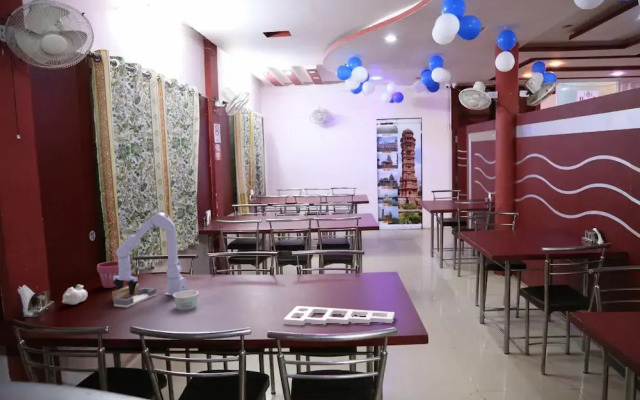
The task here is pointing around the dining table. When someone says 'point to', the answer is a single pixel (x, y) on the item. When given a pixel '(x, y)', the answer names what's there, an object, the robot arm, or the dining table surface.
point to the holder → (307, 312)
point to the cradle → (135, 297)
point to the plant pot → (108, 273)
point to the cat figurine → (74, 295)
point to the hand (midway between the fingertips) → (126, 293)
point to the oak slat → (124, 292)
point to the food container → (186, 299)
